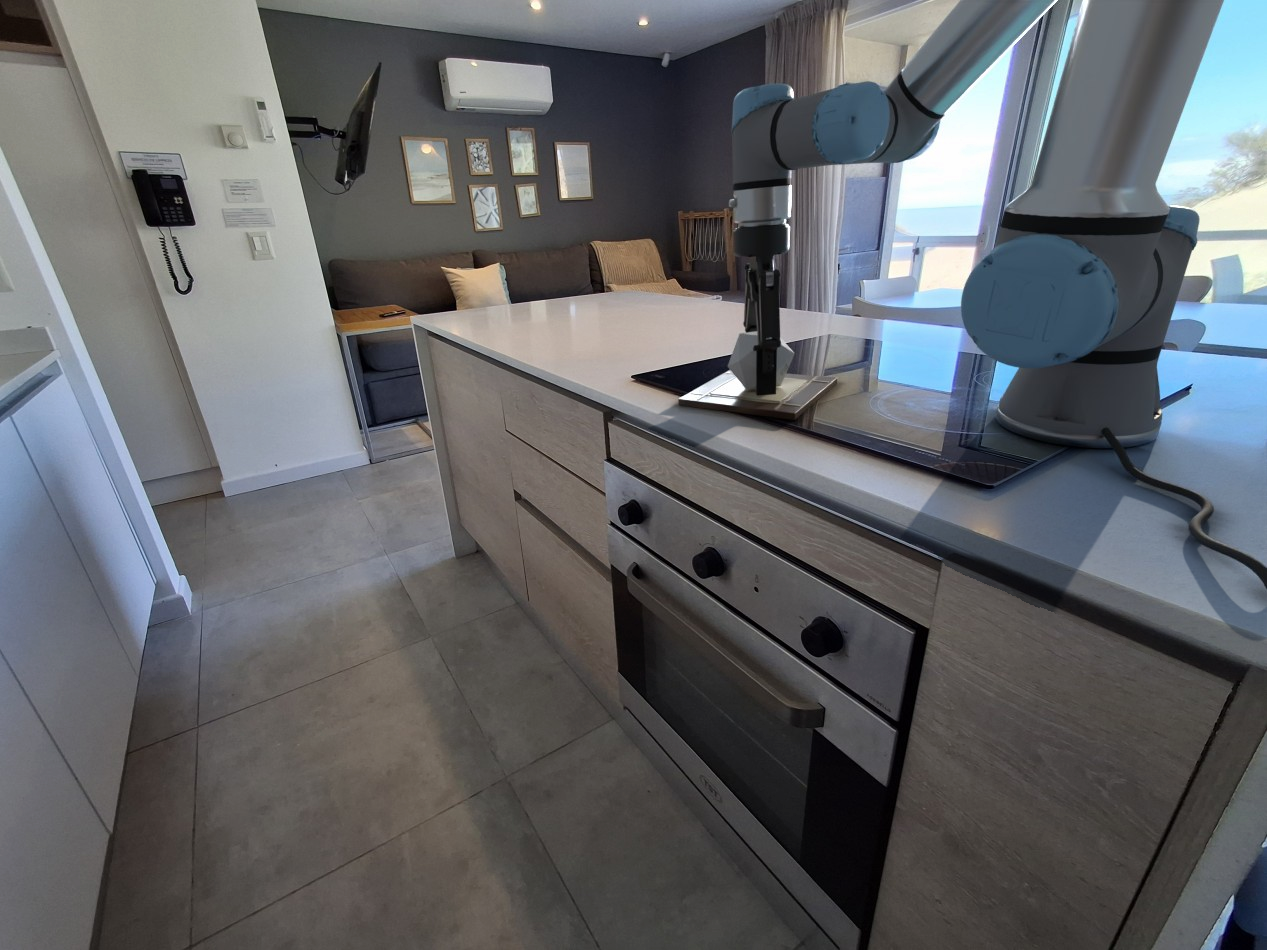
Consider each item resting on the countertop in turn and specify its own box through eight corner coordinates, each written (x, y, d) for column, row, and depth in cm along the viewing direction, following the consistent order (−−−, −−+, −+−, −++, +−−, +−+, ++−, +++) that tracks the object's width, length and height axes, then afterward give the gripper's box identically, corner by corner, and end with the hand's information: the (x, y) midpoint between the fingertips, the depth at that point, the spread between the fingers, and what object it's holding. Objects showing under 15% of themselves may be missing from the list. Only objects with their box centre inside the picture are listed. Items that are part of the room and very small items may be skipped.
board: (837, 383, 89) (837, 376, 88) (794, 420, 76) (795, 411, 75) (731, 374, 99) (731, 367, 98) (678, 405, 85) (678, 397, 85)
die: (785, 400, 81) (812, 336, 81) (730, 374, 80) (757, 309, 80) (763, 405, 90) (787, 346, 90) (712, 382, 88) (737, 322, 88)
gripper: (724, 224, 87) (726, 368, 97) (745, 228, 67) (745, 409, 76) (773, 220, 87) (771, 364, 96) (809, 222, 67) (802, 405, 76)
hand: (760, 384), depth 86 cm, fingers closed on die, 9 cm apart
